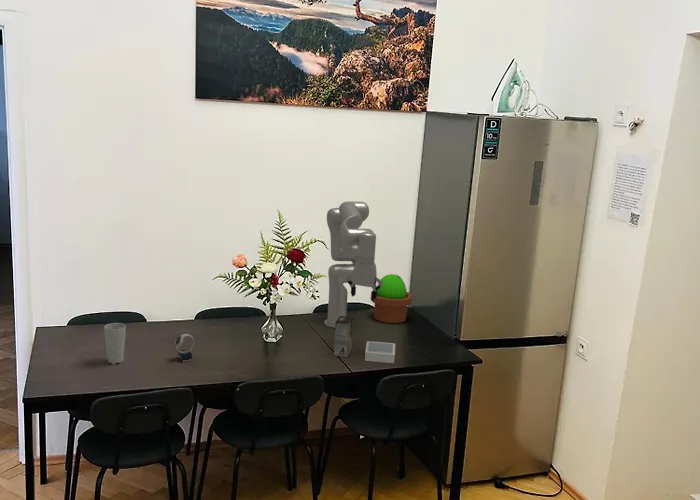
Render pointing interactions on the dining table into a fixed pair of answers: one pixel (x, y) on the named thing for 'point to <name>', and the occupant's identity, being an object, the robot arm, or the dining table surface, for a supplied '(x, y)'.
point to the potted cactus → (391, 300)
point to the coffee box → (343, 336)
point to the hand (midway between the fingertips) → (363, 297)
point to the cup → (115, 341)
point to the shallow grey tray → (380, 352)
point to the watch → (184, 353)
